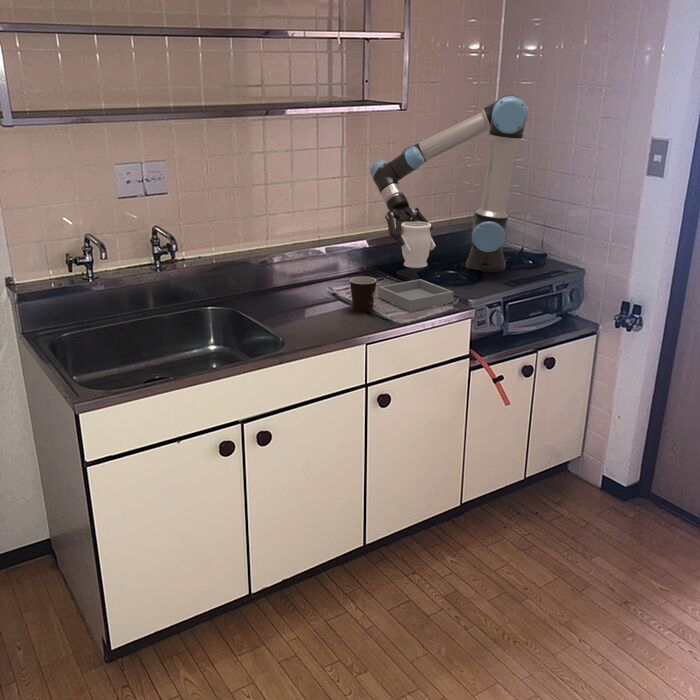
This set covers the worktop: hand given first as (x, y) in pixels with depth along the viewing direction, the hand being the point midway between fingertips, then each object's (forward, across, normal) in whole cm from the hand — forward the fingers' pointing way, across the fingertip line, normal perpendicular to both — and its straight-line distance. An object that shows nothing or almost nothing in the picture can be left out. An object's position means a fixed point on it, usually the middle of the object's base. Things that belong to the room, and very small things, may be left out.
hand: (421, 250), depth 271 cm
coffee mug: (+17, +31, -2) cm, 35 cm away
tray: (+18, +12, -1) cm, 22 cm away
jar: (+2, 0, -7) cm, 7 cm away
